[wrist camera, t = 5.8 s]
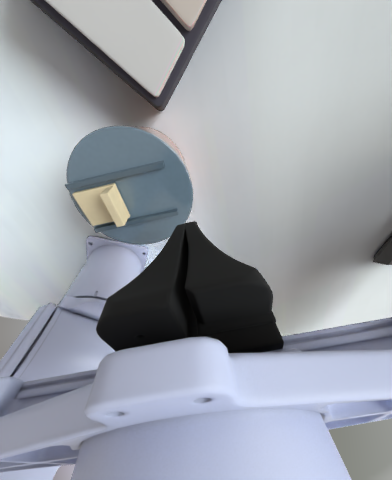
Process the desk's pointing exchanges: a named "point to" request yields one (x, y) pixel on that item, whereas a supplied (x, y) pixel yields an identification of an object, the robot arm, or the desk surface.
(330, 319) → the desk surface
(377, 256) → the computer monitor
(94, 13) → the dark grey flat box
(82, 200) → the lid slider
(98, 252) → the robot arm
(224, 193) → the desk surface
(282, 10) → the desk surface
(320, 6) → the desk surface
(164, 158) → the tumbler
